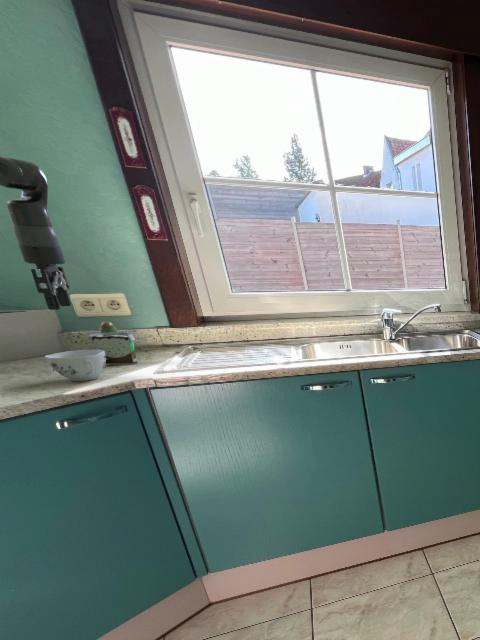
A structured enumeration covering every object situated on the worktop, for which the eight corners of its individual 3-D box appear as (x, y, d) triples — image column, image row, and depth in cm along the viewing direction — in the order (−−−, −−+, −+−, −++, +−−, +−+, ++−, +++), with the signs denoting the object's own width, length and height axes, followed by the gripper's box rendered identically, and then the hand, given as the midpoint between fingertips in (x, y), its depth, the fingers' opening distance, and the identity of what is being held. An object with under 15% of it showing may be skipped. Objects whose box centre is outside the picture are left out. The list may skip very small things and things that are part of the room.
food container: (151, 360, 175) (142, 332, 171) (139, 364, 169) (129, 334, 165) (111, 360, 173) (101, 331, 169) (97, 364, 167) (87, 334, 163)
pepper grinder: (113, 357, 178) (102, 322, 173) (105, 356, 179) (93, 321, 174) (129, 355, 182) (118, 321, 177) (120, 354, 183) (109, 320, 179)
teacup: (47, 380, 146) (37, 353, 143) (102, 372, 156) (93, 347, 153) (68, 387, 139) (57, 359, 137) (124, 379, 150) (115, 353, 147)
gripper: (30, 243, 133) (50, 304, 139) (6, 243, 122) (30, 310, 128) (68, 245, 137) (87, 305, 143) (49, 245, 125) (70, 310, 131)
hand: (60, 307), depth 135 cm, fingers open, 8 cm apart
